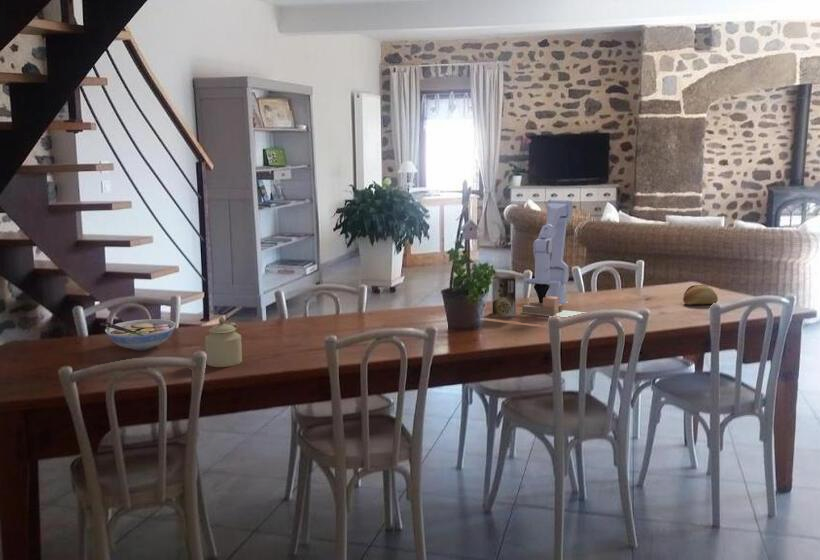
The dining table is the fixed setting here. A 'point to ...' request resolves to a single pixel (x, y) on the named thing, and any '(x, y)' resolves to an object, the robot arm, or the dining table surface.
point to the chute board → (547, 310)
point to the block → (551, 302)
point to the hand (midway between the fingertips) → (541, 302)
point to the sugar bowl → (223, 345)
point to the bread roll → (699, 295)
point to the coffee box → (503, 295)
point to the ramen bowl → (140, 333)
